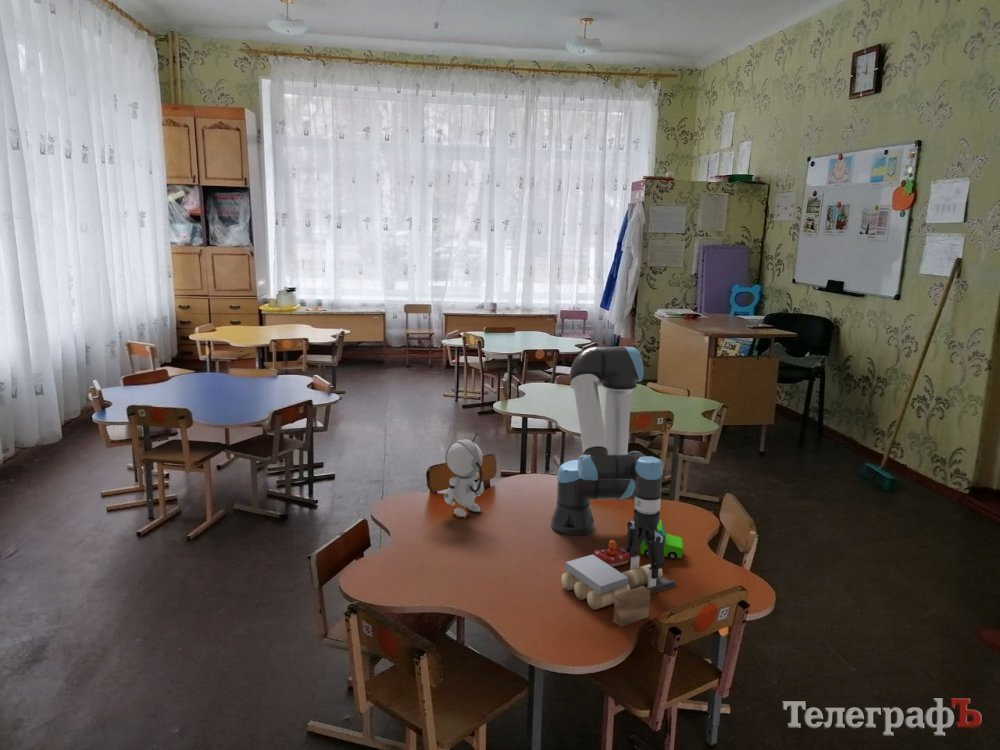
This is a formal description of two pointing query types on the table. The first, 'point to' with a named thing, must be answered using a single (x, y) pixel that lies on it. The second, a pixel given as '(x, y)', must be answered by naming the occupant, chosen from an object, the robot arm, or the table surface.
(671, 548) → the toy car
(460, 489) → the robot
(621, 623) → the track
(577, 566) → the slab
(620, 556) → the toy boat
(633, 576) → the roller
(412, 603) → the table surface
